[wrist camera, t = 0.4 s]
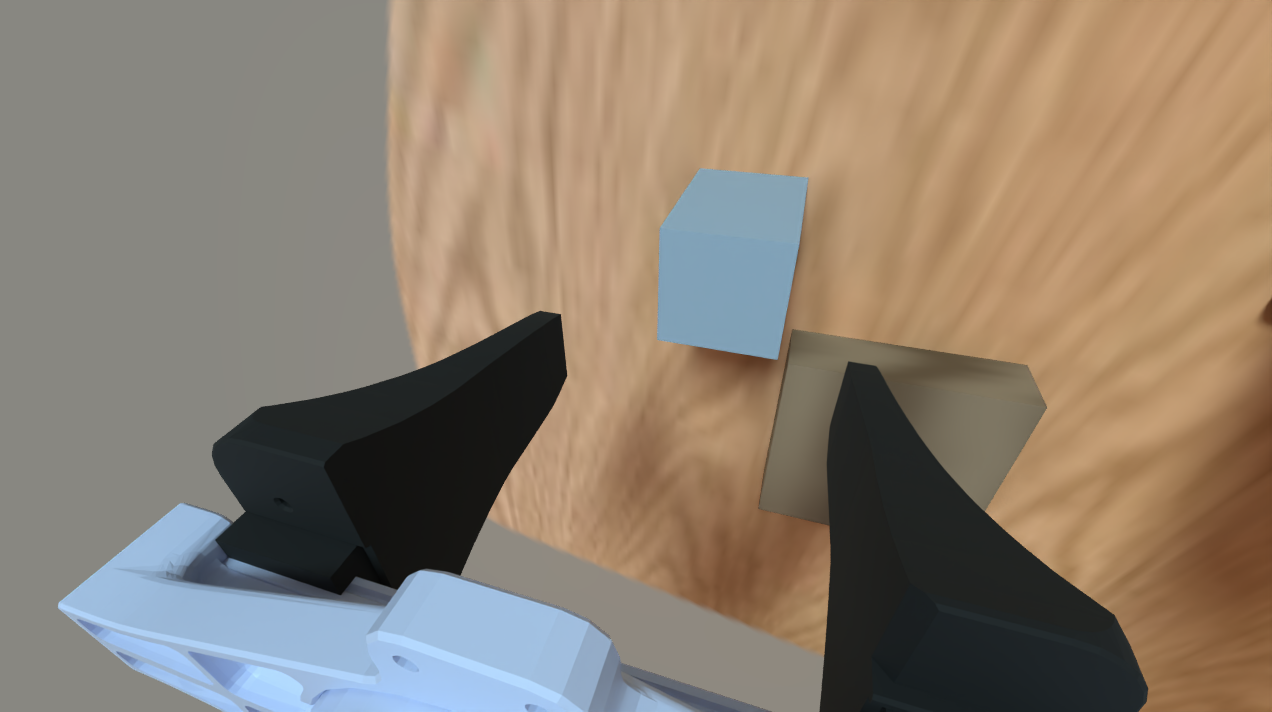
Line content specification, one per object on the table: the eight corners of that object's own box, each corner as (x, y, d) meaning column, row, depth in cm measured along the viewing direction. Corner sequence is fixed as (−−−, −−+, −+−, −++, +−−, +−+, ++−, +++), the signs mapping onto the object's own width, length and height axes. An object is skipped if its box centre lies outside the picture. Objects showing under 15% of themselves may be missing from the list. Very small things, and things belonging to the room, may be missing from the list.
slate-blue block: (808, 177, 19) (799, 243, 15) (790, 275, 22) (777, 359, 17) (700, 168, 20) (659, 227, 16) (693, 263, 23) (657, 339, 18)
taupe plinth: (1024, 359, 21) (1047, 407, 19) (947, 504, 27) (958, 555, 24) (793, 324, 23) (788, 364, 21) (764, 465, 29) (758, 508, 26)
